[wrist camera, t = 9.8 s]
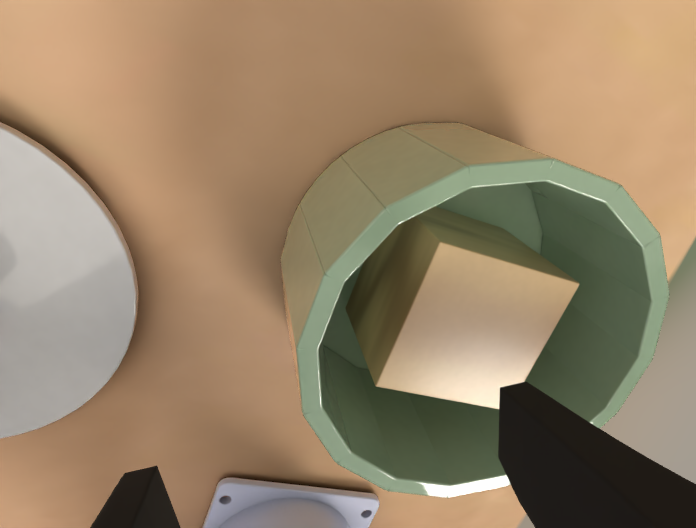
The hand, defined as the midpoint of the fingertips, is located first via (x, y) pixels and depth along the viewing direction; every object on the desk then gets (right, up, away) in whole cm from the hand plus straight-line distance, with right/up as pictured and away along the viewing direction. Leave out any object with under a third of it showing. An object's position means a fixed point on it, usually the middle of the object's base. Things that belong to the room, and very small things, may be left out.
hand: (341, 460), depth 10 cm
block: (+3, +4, +9) cm, 11 cm away
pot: (+3, +4, +10) cm, 11 cm away
